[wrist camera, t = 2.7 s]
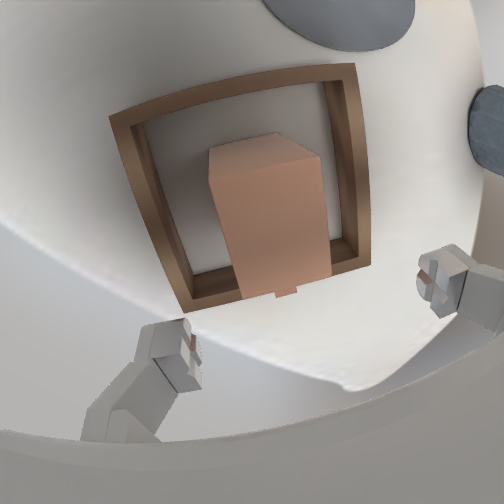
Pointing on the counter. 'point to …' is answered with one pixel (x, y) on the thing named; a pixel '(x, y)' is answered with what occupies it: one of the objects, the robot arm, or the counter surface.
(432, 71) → the counter surface
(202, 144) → the counter surface
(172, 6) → the counter surface
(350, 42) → the slate coaster
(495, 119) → the moka pot
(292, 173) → the terracotta clay block
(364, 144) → the frame
